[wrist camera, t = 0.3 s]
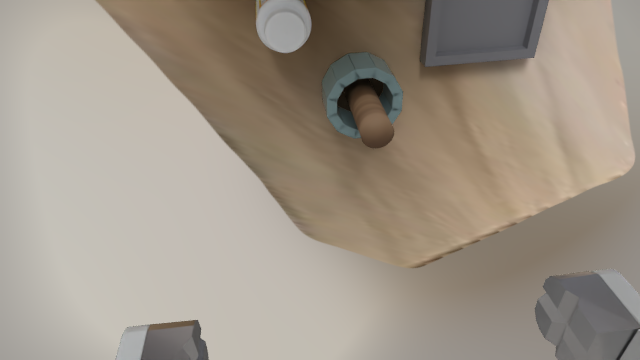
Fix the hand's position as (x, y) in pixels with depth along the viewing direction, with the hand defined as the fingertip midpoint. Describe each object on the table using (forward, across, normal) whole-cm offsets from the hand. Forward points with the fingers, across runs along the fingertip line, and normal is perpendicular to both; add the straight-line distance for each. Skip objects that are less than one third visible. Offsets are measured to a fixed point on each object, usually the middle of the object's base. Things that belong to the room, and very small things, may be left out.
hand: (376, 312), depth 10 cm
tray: (+47, -24, +6) cm, 53 cm away
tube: (+47, -9, +16) cm, 50 cm away
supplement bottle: (+47, 0, +5) cm, 47 cm away
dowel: (+47, -9, +16) cm, 50 cm away
